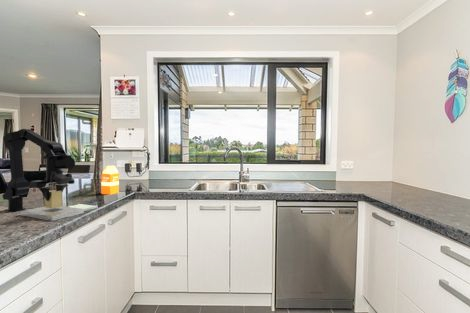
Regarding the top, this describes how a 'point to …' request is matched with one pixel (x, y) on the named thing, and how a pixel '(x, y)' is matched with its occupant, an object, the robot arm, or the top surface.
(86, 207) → the pad
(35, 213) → the hole plate
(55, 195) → the tan wooden block
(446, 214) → the top surface
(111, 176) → the orange juice
